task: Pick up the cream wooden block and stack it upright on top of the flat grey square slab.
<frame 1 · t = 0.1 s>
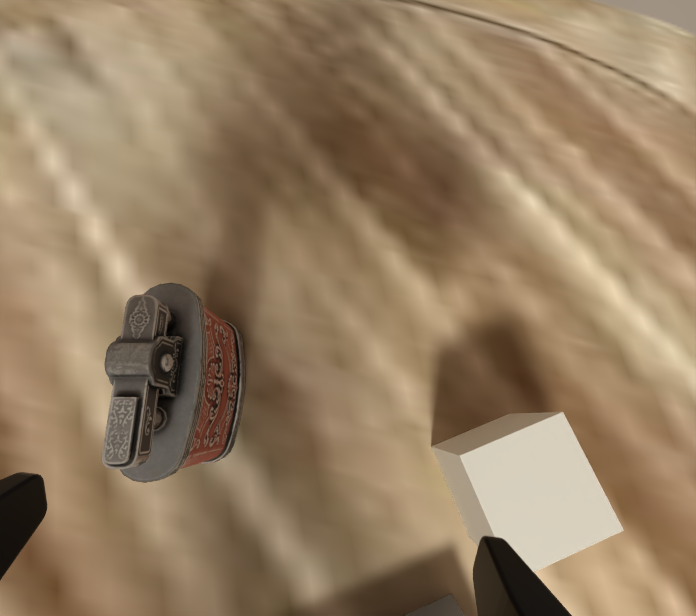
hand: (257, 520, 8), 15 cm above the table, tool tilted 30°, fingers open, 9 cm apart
cream block: (489, 473, 22), on the table
lighter: (217, 389, 24), on the table
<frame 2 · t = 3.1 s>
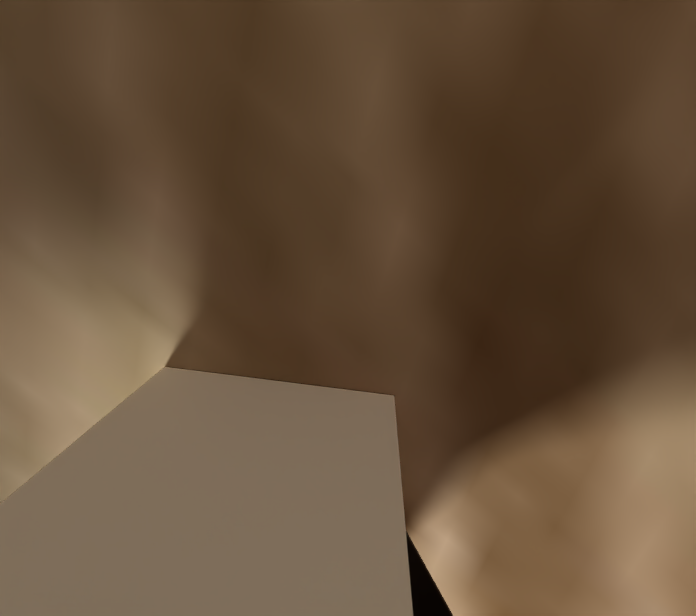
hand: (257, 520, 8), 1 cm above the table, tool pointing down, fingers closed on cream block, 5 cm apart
cream block: (272, 477, 9), on the table, touching gripper
when the fingers open (5 cm above the table, at t = 8.6 s): cream block drops 1 cm, resting on grey square slab.
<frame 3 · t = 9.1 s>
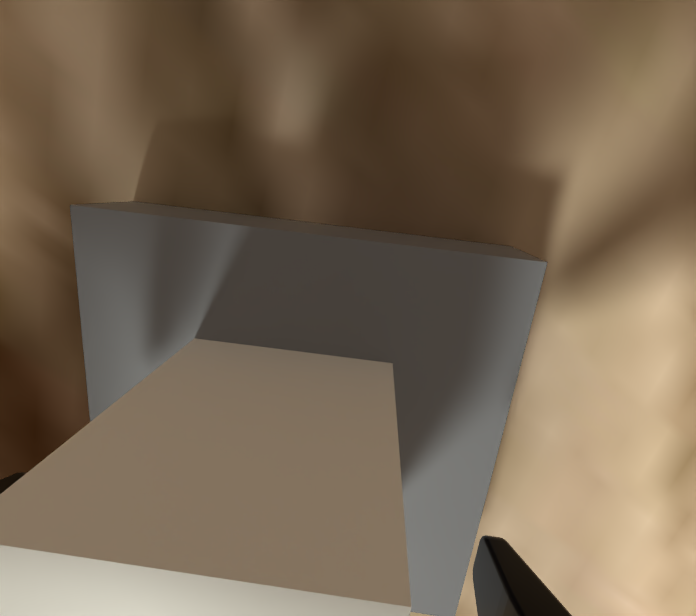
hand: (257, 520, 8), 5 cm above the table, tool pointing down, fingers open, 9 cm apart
cream block: (286, 436, 11), point 2 cm above the table, touching grey square slab
grey square slab: (306, 385, 14), on the table, touching cream block
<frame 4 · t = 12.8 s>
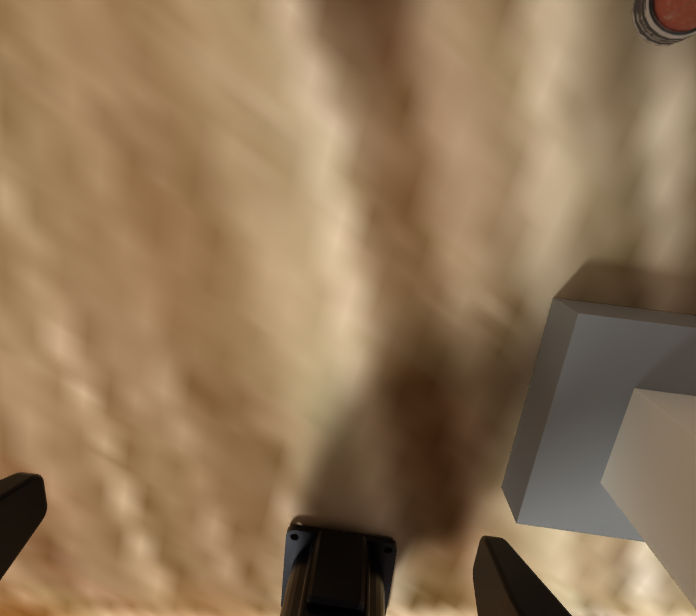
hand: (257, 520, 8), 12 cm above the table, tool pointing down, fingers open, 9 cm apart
cream block: (673, 444, 18), point 2 cm above the table, touching grey square slab
grey square slab: (627, 409, 21), on the table, touching cream block
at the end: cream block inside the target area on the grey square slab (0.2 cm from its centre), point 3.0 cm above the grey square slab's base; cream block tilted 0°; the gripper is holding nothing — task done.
